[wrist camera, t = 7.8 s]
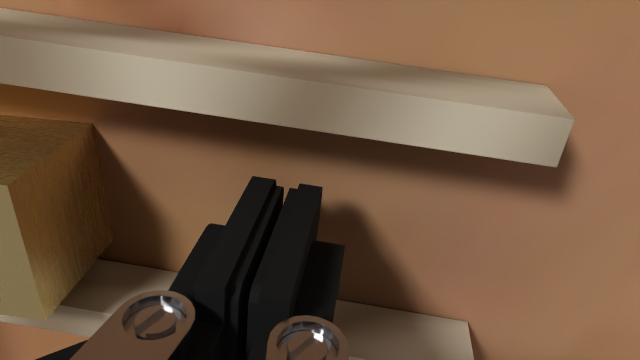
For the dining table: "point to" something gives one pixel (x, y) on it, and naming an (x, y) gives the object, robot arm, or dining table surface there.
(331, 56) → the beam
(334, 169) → the dining table surface
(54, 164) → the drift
